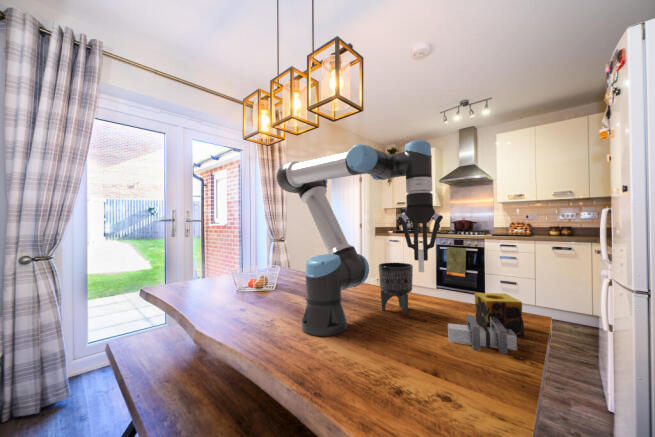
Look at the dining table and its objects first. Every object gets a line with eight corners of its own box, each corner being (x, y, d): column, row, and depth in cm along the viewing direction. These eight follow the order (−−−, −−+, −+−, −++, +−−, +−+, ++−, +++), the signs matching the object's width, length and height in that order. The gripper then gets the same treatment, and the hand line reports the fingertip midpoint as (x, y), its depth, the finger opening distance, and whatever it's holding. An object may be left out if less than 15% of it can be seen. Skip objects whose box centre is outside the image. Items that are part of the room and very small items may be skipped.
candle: (525, 336, 76) (523, 302, 76) (487, 334, 78) (485, 301, 78) (508, 323, 86) (507, 293, 86) (475, 322, 88) (473, 292, 88)
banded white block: (449, 342, 73) (448, 328, 73) (448, 336, 77) (447, 323, 77) (517, 351, 67) (516, 335, 68) (512, 344, 71) (511, 329, 71)
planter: (387, 303, 110) (386, 261, 111) (418, 308, 103) (417, 263, 103) (374, 312, 100) (373, 265, 100) (407, 318, 92) (406, 268, 93)
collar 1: (473, 350, 68) (472, 326, 68) (467, 334, 78) (466, 314, 78) (480, 350, 68) (479, 327, 68) (473, 335, 77) (472, 315, 77)
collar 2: (500, 353, 66) (499, 329, 66) (490, 337, 75) (489, 316, 76) (507, 354, 65) (506, 330, 66) (497, 338, 75) (496, 317, 75)
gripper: (395, 193, 77) (397, 272, 77) (443, 190, 73) (446, 274, 72) (398, 195, 84) (400, 268, 84) (441, 193, 80) (444, 270, 79)
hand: (421, 271), depth 78 cm, fingers closed
